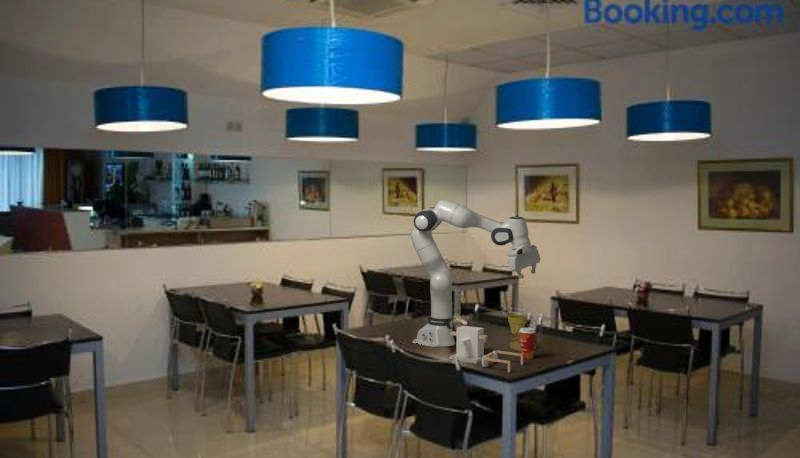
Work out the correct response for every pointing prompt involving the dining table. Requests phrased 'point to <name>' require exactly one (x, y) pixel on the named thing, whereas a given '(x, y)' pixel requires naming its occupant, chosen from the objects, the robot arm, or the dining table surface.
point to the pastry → (518, 342)
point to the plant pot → (516, 322)
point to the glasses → (494, 358)
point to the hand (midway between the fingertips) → (527, 275)
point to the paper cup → (527, 342)
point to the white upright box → (469, 344)
